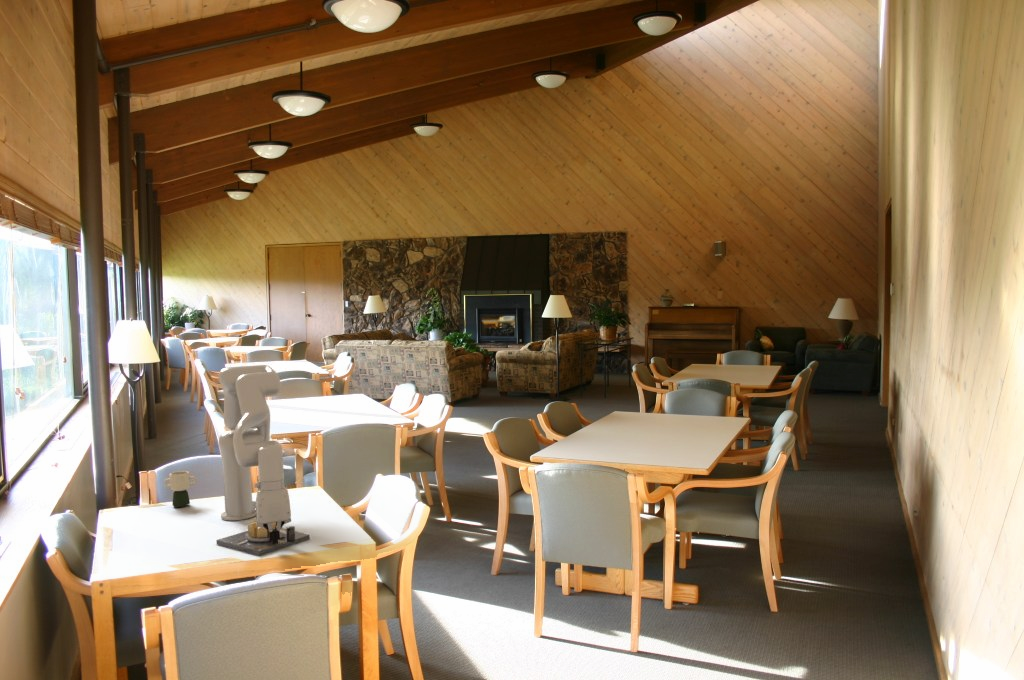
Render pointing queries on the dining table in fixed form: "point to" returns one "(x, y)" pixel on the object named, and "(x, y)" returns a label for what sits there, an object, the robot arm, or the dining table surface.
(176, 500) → the character mug
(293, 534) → the knobbed lever handle
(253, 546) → the base plate
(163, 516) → the dining table surface
